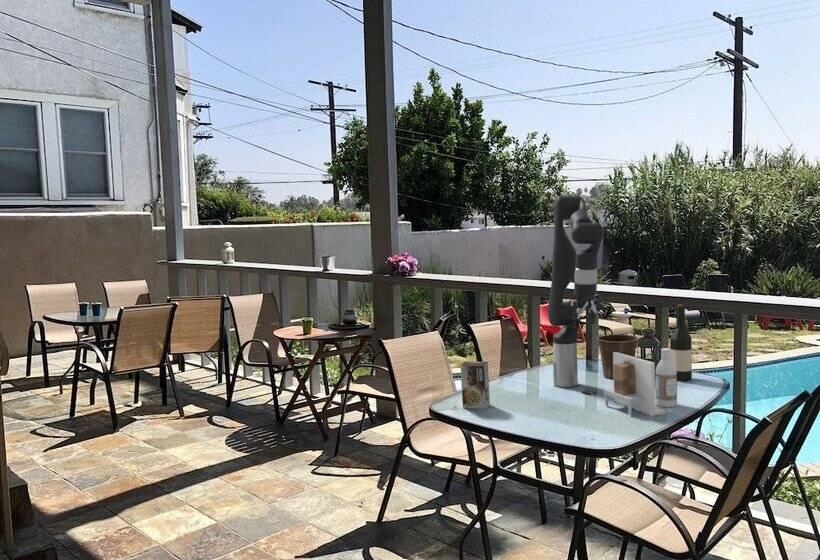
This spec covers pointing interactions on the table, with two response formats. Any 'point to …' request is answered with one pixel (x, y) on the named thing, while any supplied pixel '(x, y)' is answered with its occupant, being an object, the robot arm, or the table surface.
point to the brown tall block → (624, 378)
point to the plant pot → (615, 350)
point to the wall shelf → (637, 386)
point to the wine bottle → (681, 347)
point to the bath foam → (666, 381)
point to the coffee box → (475, 385)
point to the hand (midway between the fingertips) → (584, 326)
